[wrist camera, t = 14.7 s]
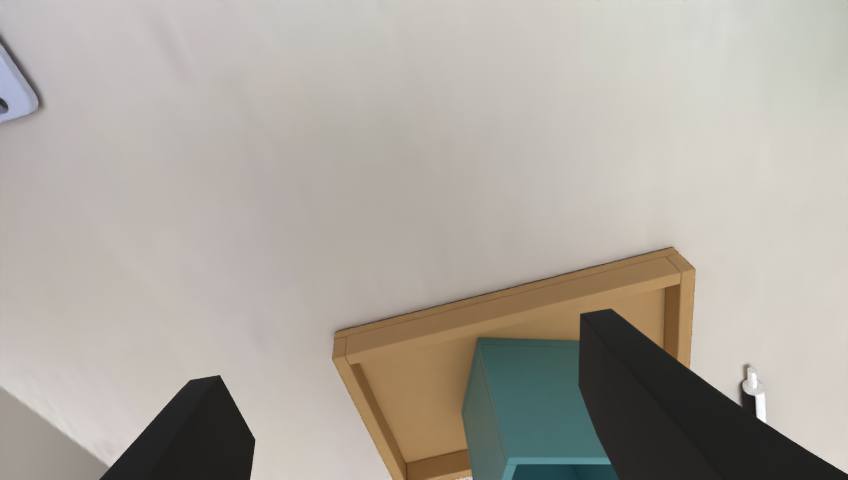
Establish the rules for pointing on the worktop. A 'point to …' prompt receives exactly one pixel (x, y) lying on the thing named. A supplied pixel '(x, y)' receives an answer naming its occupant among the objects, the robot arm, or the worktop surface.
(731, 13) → the worktop surface
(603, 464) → the tub
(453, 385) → the tray
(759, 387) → the pen
